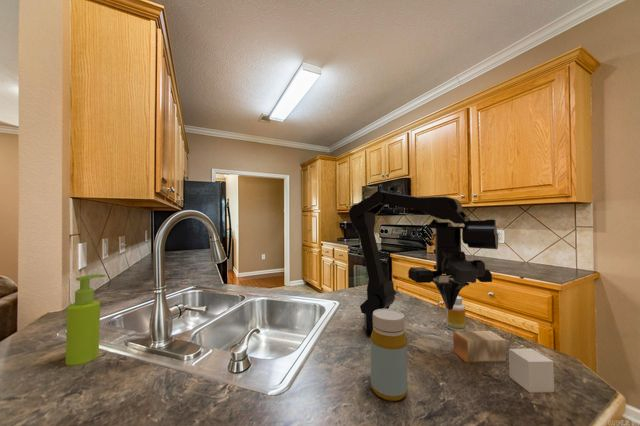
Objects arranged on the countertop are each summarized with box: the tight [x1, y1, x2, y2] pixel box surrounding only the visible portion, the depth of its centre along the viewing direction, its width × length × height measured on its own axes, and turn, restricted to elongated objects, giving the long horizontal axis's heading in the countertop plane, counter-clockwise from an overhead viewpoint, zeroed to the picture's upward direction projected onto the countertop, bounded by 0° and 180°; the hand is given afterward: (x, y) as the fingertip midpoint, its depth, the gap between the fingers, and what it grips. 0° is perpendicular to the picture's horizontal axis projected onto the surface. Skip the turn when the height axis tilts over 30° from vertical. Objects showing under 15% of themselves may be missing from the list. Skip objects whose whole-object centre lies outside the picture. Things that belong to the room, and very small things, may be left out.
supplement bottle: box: [445, 295, 466, 331], centre depth 79 cm, size 5×5×10 cm
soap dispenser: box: [64, 273, 107, 367], centre depth 62 cm, size 6×7×20 cm
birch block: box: [452, 330, 507, 363], centre depth 63 cm, size 5×5×10 cm
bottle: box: [370, 308, 408, 402], centre depth 50 cm, size 7×7×15 cm
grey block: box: [508, 348, 555, 393], centre depth 52 cm, size 5×5×6 cm
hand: (449, 309), depth 63 cm, fingers closed
